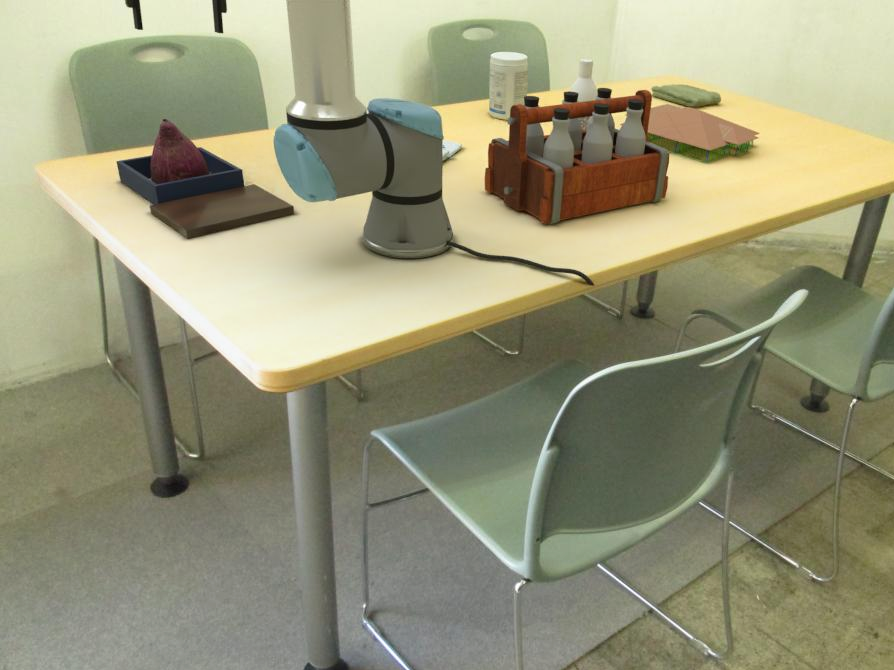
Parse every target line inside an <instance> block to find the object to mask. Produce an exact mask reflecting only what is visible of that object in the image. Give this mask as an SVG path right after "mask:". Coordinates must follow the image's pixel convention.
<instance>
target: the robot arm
mask: <svg viewBox="0 0 894 670" xmlns="http://www.w3.org/2000/svg"><path fill="white" fill-rule="evenodd" d="M211 2H212V15H213V28H214V33H216V34H224V24H223V14H227V11H228V6H227V3H228V2H227V0H211ZM124 4H125V6H126V8H129V9H130V8H131V9H132V17H133V18H132V19H133V24H134V29H135V30H137V31H143V30H144V26H143V18H142V17H143V16H142V9H141V1H140V0H124ZM286 12H287V21H288V32H289V43H290V53H291V63H292V73H293V74H292V75H293V84H294V94H295V95H294V97H293V98H292V100H291V101H290V102H289V103H288V104H287V105H286V107H285V113H286V123H282V124H281V125H280V126H277V128H276V129H275V131H274V135H273V150H274V154H275V158H276V161H277V164H278V167H279V169H280V172H281V174H282V177H283V178H284V180H285V181H286V183H287V185H288V186H289V188H290V189H291V191H292V192H293V193H294V194H295V195H296V196H297V197H298V198H300V199H301V200H303V201H305V202H307V203H320V202H335V201H336V200H339V199H344V198H348V197H352V196H359V195H362V194H367V193H371V201H370V203H369V208H368V212H367V216H366V220H365V223H364V225H363V229H362V239H363V240H362V241H363V244H364V246H365V247H366V249H369V250H370V251H372V252H374V253H376V254H379V255H381V256H385V257H391V258H396V259H423V258H428V257H429V258H430V257H434V256H437V255H440V254H442V253H444V252H446V251H448V250H449V249H451V247H453V248H455V249H458V250H460V251H462V252H465V253H467V254H470V255H472V256H473V257H477V258H481V259H487V260H496V261H508V262H515V263H520V264H524V265H527V266H531V267H533V268H535V269H536V268H537V269H540V270H543V271H547V272H551V273H561V274H562V273H563V274H571V275H574V276H575V275H576V276H578V277H580V278H581V279H582V280H584V281H585V282H586V283H587V285H589V286H592V287H593V286H595V283H594V282H593V281H592V279H591V278H590V277H589V276H587V274H585V273H584V272H582V271H580V270H577V269H573V268H566V267H565V268H564V267H553V266H548V265H545V264H541V263H539V262H535V261H532V260H529V259H525V258H521V257H516V256H510V255H497V254H489V253H488V254H487V253H482V252H479V251H476V250H474V249H472V248H469V247H467V246H465V245H462V244H459V243H456V242H455V241H454V232H453V228H452V225H451V221H450V218H449V215H448V212H447V208H446V205H445V202H444V198H443V161H442V141H444V139H445V136H444V131H443V120H442V116H441V114H440V113H439V111H437V109H435V108H433V107H432V106H429V105H427V104H424V103H420V102H416V101H411V100H405V99H399V98H385V97H384V98H383V97H382V98H381V97H380V98H374V99H372V100H369V101H368V105H367V106H365V104H363V102H361V101H360V100H359V99H358V98H357V96H356V80H355V68H354V67H355V65H354V64H355V63H354V47H353V33H352V30H353V29H352V14H351V13H352V12H351V0H286ZM367 111H368V113H367Z"/></svg>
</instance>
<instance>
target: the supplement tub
mask: <svg viewBox="0 0 894 670" xmlns="http://www.w3.org/2000/svg"><path fill="white" fill-rule="evenodd" d="M528 58H529V57H528V55H526V54H524V53H521V52H515V51H498V52H493V53H491V54H490V60H489V87H488V88H489V89H488V90H489V93H488V94H489V98H488V99H489V100H488V102H489V103H488V113H489V115H490V116H491V117H493V118H495V119H498V120H504V121H508V118H509V117H510V109H511V107H512V106H513V105H518V104H522V105H524V97H525V96H528V76H529V75H528V74H529V71H528V70H529V61H528Z"/></svg>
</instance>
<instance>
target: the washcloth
mask: <svg viewBox="0 0 894 670" xmlns="http://www.w3.org/2000/svg"><path fill="white" fill-rule="evenodd" d="M650 90H651V92H652V97H655V98H658V99H662V100H665V101H668V102H672V103H675V104H678V105H683V106H685V107H691V108H697V107H704V106H711V105H719V104H720V103H721V102H722V96H721V94H720V92H717V91H711V90H707V89H704V88H700V87H696V86H693V85H689V84H663V85H660V86H658V85H655V86H652V87H651V88H650Z"/></svg>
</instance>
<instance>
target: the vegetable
mask: <svg viewBox="0 0 894 670" xmlns="http://www.w3.org/2000/svg"><path fill="white" fill-rule="evenodd" d="M161 119H162V120H161V121H160V123H159V129H158V133H157V135H156V136H155V140H154V143H153V148H152V152H151V155H152V157H151V178H150V180H151V181H153V182H155V183H156V184H161V183H167V182H172V181H177V180H182V179H188V178H193V177H198V176H204V175H209V174H210V173H209V170H208V167H207V164H206V162H205V160H204V157H203V155H202V154H201V152H200V151H199V150H198V147H197V146H196V144H195V143H194V142H193V141H192V140H191V139H190V138H189V137H187V135H185V134H184V133H183V132H182V131H181V129H179V127H178V126H177V125H176V124H175V123H174V122H173V121H171V120H170V119H167V118H165V117H162V118H161Z"/></svg>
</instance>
